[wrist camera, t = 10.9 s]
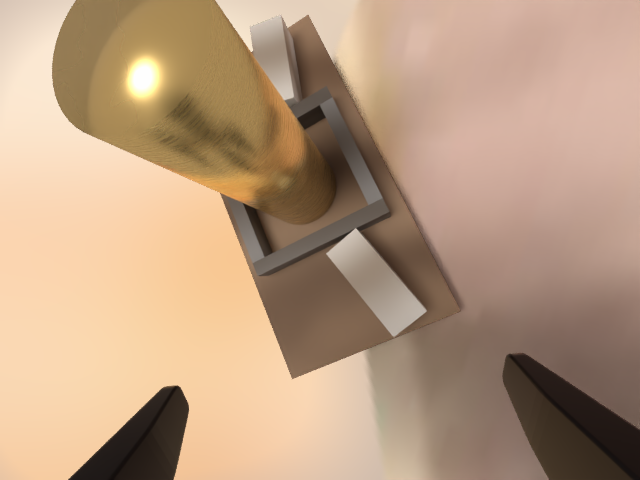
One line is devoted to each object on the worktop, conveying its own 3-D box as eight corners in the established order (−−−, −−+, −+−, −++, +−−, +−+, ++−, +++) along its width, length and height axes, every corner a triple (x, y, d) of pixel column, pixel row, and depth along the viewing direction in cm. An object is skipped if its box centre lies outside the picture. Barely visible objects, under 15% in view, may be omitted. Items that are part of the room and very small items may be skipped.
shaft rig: (457, 309, 17) (468, 316, 14) (297, 373, 19) (278, 391, 16) (312, 26, 21) (297, -13, 18) (192, 104, 23) (161, 80, 20)
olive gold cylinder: (321, 234, 19) (167, 160, 7) (257, 212, 20) (28, 115, 8) (346, 163, 19) (240, -39, 7) (281, 145, 20) (90, -53, 8)
